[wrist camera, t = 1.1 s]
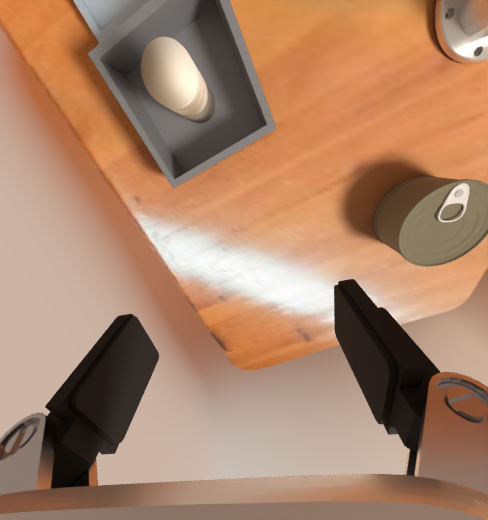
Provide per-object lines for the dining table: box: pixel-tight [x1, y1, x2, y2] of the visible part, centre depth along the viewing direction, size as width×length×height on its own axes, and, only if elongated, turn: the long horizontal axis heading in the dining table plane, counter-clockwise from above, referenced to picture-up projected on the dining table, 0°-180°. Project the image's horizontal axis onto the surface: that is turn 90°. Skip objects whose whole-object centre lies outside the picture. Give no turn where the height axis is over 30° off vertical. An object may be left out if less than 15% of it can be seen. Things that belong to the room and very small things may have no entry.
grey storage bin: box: [88, 0, 276, 188], centre depth 24 cm, size 15×15×6 cm
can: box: [373, 176, 488, 267], centre depth 30 cm, size 12×12×7 cm
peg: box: [141, 37, 215, 124], centre depth 22 cm, size 4×4×11 cm
